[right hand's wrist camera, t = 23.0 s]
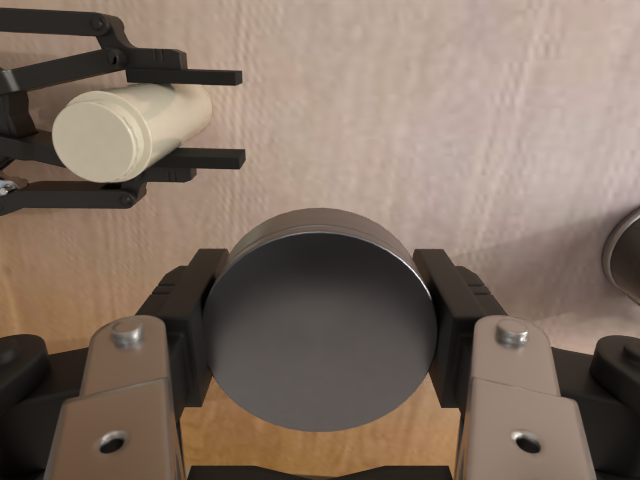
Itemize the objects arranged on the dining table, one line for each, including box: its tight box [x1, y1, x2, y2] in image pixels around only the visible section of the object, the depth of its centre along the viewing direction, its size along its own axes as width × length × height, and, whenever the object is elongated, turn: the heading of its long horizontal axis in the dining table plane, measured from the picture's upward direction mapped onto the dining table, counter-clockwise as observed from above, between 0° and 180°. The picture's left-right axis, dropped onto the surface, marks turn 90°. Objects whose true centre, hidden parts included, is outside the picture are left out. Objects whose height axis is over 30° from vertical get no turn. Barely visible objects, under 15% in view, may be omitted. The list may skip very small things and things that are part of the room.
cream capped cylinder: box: [52, 83, 212, 183], centre depth 27 cm, size 4×4×15 cm
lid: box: [202, 208, 438, 432], centre depth 10 cm, size 5×5×2 cm
